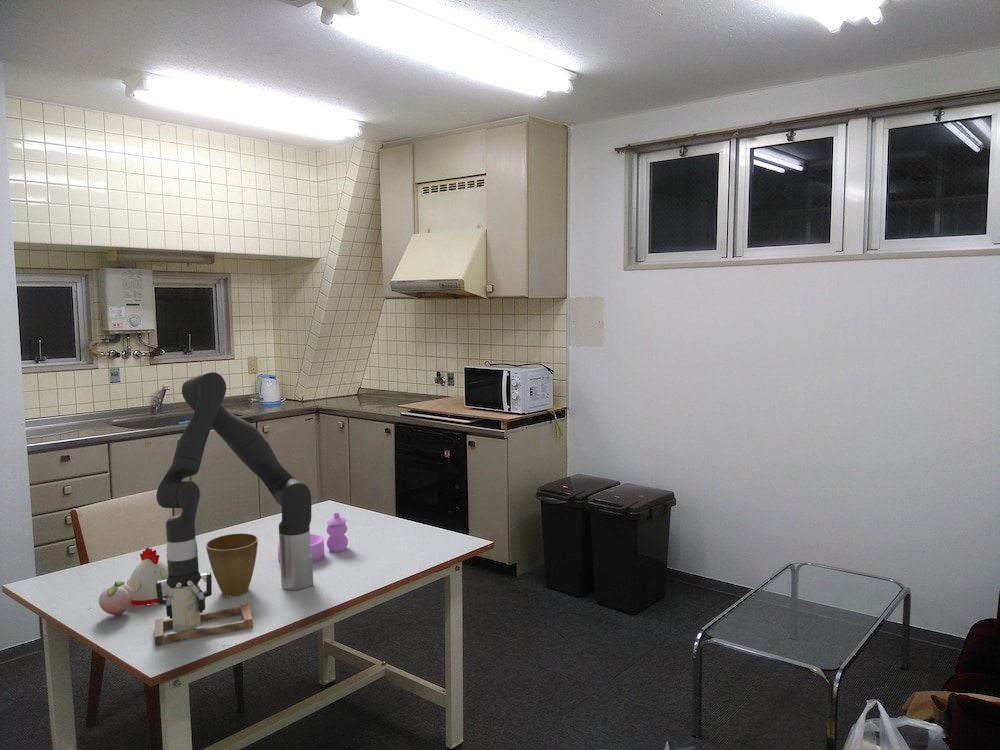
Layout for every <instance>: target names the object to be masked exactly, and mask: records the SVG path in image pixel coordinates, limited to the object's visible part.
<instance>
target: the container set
mask: <svg viewBox="0 0 1000 750" xmlns="http://www.w3.org/2000/svg"><path fill="white" fill-rule="evenodd" d="M326 524H327V527H326V530H325V531H326V533H327V535H329V537H327V539H326V546H327V548H328V549H329V551H331V552H336V553H337V552H338V553H339V552H343V551H345V550H346V548H347V547H348V545H349V539H348V537H347V536H346V535H345V534H346V533H348V525H347V519H346V518H345V517H343V516H341V515H340V512H334V513H333V514H332V516H331V517H329V518H328V519H327V521H326ZM324 541H325V539H324V536H322V535H320V534H317V533H310V549H311V555H312V564H313V565H314V564H316V563H319V562H320V561H322V560H324V558H325V542H324ZM277 553H278V554H277V556H278V557H277V558H278V563H279V564H280V545H279V540H278V541H277Z"/></svg>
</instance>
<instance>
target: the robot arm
mask: <svg viewBox="0 0 1000 750" xmlns="http://www.w3.org/2000/svg"><path fill="white" fill-rule="evenodd" d="M226 394H227V383H226V380H225V379H224V377H223V376H222V375H221V374H220V373H218V372H216V371H207V372H203V373H200V374H198V375H196V376H195V375H194V376H193V377H191V378H188V379H187V380H186V381H184V382H183V384H182V386H181V395H182V397H183V400H184V401H185V402H186V404H187V405H188V406H189V407H190V408H191V409H192V410H193V411H194V412H193V415H192V416H191V419H190V420H189V422H188V424H187V426H186V427H185V429H184V430H183V431H182V434H181V435H180V438H179V440H178V442H177V445H176V447H175V452H174V455H173V458H172V463H171V465H170V467H169V468H168V470H167V471H166V473H165V475H164V476H163V478H162V480H161V481H160V483H159V485H158V487H157V490H156V495H155V496H156V501H157V504H158V505H159V507H161V508H164V509H181V510H182V511H181V514H178V515H174V516H171V517H169V518H167V520H166V523H165V532H166V533H165V535H166V562H167V563H166V565H167V567H168V578H167V580H163V581H160V580H157V581H156V591H157V599H158V606H159V605H160V606H161V605H164V606H165V609H166V610H165V612H166V617H167V618H168V617H169V619H172V604H171V602H172V601H171V598H174V594H173V593H174V590H173V591H172V593H171V590H170V592H169V595H168V596H167V598H163V595H162V589H164V588H165V585H166V584H167V585H168V586H169V587H170V588H174V589H176V588H180V587H183V586H189V587H190V588H191V589H192V590H193V591H194V593H195V594H197V596H198V597H199V606H200V613H204V611H205V610H206V598H207V597H211V596H212V595H213V594H212V593H213V592H212V591H213V590H212V586H213V585H212V583H213V581H212V579H213V578H212V572H211V571H207V572H206V573H200V570H199V554H198V553H199V549H198V543H197V539H196V525H195V524H196V516H197V512H198V506H199V502H200V499H201V490H200V487H199V486H198V484H197V483H196V482H194V481H191V480H190V481H189V480H187V481H185V480H184V479H185V478H188V477H193V476H195V475H197V474H198V473H199V471H200V467H201V464H202V459H203V456H204V451H205V448H206V444H207V440H208V437H209V434H210V432H211V429H213V430H214V432H216V434H217V435H218V436H219V437H220V438H221V439H222V440H223V441H224V442H225V443H226V445H228V447H229V448H230V449H231V451H233V453H234V454H235V456H237V457H238V458H239V460H240V461H241V462H242V463H243V464H244V465H245V466H246V467H247V468H248V469H249V470H250V471H251V472H253V473H254V474H255V475H256V476H257V477H258V478H259V479H260V480H261V482H262V483H263V484H264V485H265V487H266V488H267V490H268V492H269V493H270V494H271V495H272V497H273V499H274V500H275V502H276V503H277V504H278V505H279V506H280V507H281V521H280V522H279V523H278V541H279V545H280V563H279V565H280V566H279V567H280V583H281V584H280V585H281V588H282V589H284V590H287V591H297V590H302V589H306V588H308V587H311V586H314V571H313V569H314V568H313V567H314V566H313V565H314V564H312V555H311V549H310V534H311V533H310V532H311V528H310V526H311V521H312V494H311V490H310V488H309V486H308V485H307V484H305V483H304V482H302V481H301V480H298V479H296V477H294V476H293V475H292V474H291V473H290V472H288V470H287V469H286V468H285V467H283V465H282V464H281V463H280V462H279V460H278V458H277V457H276V455H275V454H276V453H275V452H274V450H273V449H272V447H271V445H270V444H269V442H268V440H267V439H266V438H265V436H263V434H262V433H261V432H260V431H259V429H257V428H256V426H254V425H253V424H251V423H250V422H248V421H247V420H246V419H245V420H244V419H243V418H241V417H239V416H237V415H235V414H233V413H231V411H229V410H227V409H226V408H225V407H224V405H222V403H223V401H224V399H225V397H226ZM183 480H184V481H183ZM201 579H202V580H203V582H204V583H205V584H206V585H205V586H206V587H205V588H206V590H204V591H203V589H201V587H200V586H199V582H200V581H201ZM197 584H198V587H196V585H197Z"/></svg>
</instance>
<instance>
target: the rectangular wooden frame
mask: <svg viewBox="0 0 1000 750" xmlns="http://www.w3.org/2000/svg"><path fill="white" fill-rule="evenodd" d="M236 616H241V619H242V620H239V621H233V622H232V621H231V622H227V623H223V624H217V625H211V626H206V627H201V628H194V629H193V630H189V631H184V632H178V633H177V632H173V633H169V634H165V633H164V630H165V629H164V628H166V629H170V627H171V628H173V619H172V618H171V619H170V618H168V619H167V618H166V619H164V618H162V617H161V618H157V619H154V646H155V647H157V645H159V646H163V645H162V644H164V645H168V644H167V643H169V644H173V642H175V643H180V642H184V640H185V641H190V640H194V639H200V637H201V638H205V636H206V637H210V636H217V635H220V634H226V633H231V632H237V631H242V630H248V629H253V628H254V626H253V616H252V613H251V609H250V606H249V604H248V603H242V604H240V606H234V607H230V608H225V609H224V608H223V609H218V610H212V611H207V612H203V613H200V622H201V623H204V622H208V620H210V621H215V620H221V619H225V618H226V619H227V618H231V617H236ZM213 619H214V620H213ZM203 621H204V622H203ZM189 639H190V640H189ZM179 641H180V642H179Z"/></svg>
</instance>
